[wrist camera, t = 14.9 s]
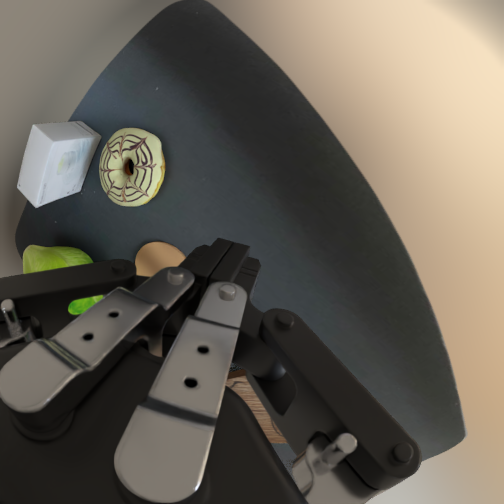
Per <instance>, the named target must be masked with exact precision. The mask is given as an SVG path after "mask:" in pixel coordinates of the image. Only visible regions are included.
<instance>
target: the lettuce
mask: <svg viewBox="0 0 504 504" xmlns="http://www.w3.org/2000/svg"><path fill="white" fill-rule="evenodd" d="M88 263H94V262H93V261H92V260H91V258H90V257H89V256H88V255H87V254H86V253H84V252H83V251H81V250H80V249H77V248H72V247H41V246H36V245H30V246H28V247H27V248H26V249H25V251H24V254H23V272H24V274H26V273H32V272H38V271H44V270H50V269H57V268H63V267H69V266H75V265H81V264H88ZM102 298H103V295H100V296H95V297H90V298H84V299H79V300H75V301H73V302H71V303H70V305H69V307H68V311H69V313H71V314H73V315H77V314H82V313H84V312H85V311H86V310H87V309H89V308H90V307H91V306H93V305H94V304H95V303H97V302H98V301H99V300H101V299H102Z"/></svg>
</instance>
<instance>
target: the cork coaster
mask: <svg viewBox="0 0 504 504" xmlns="http://www.w3.org/2000/svg"><path fill="white" fill-rule="evenodd" d="M185 258H186V257H185V256H184V254H183V253H182V252H181V251H180V250H178V249H177V248H176V247H174V246H173V245H171V244H168V243H165V242H161V241H155V242H150V243H148V244H146V245H144V246H143V247H142V248H141V249H140V250H139V252H138V254H137V256H136V260H135V265H136V268H137V275H141V276H149V277H151V276H153V275H154V274H155V273H156V272H158V271H159V270H160V269H162V268H165V267H171V266H176V267H177V266H178V265H179V264H180V263H181V262H182V261H183V260H184V259H185Z"/></svg>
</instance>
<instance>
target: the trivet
mask: <svg viewBox="0 0 504 504" xmlns="http://www.w3.org/2000/svg"><path fill="white" fill-rule="evenodd" d="M245 373H246V370H244V369H241V370H237V371H233V372H230V373H228V378H227V382H226V386H228V387H229V388H231V389H232V390H234V391H235V392H236V393H237V394H238V395H239V396H240V397H241V398H242V399H243V400H244V401H245V402H246V403H247V405H248V406H249V407H250V409H251V410H252V412H253V414H254V415H255V417H256V419H257V421H258V423H259V424H260V426H261V428H262V430H263V431H264V433H265V435H266V436H267V438H268V440H269V442H270V443H287V441H286V440H285V438H284V437H283V435H282V434H281V432H280V431H279V429H278V428H277V426H276V425H275V423H274V422H273V420H272V419H271V417H270V416H269V414H268V413H267V411H266V409H265V408H264V406H263V405H262V403H261V402H260V400H259V398H258V397H257V395H256V394H255V392H254V390H253V389H252V387H251V386H250V384H249V382H248V381H247V379H246V375H245Z"/></svg>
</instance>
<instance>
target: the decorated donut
mask: <svg viewBox="0 0 504 504" xmlns="http://www.w3.org/2000/svg"><path fill="white" fill-rule="evenodd" d="M130 159H132V161H133V162H134V174H131V173H130V171H129V162H130ZM99 172H100V179H101V184H102V187H103V189H104V191H105V192H106V193H107V195H108V196H109V198H110V199H111V200H113V202H115V203H117V204H119V205H121V206H139V205H143V204H145V203H147V202H148V201H149V200H150V199H152V198H153V197H154V196H155V195H156V194H157V192H158V190H159V188H160V186H161V184H162V182H163V179H164V173H165V160H164V156H163V152H162V149H161V142H160V140H159V139H158V138H157V137H156V136H155V135H153V134H151V133H149V132H147V131H145V130H142V129H139V128H124V129H121V130H118V131H117V132H116V133H115V134H113V136H112V137H111V138H110V140H109V141H108V142H107V144H106V145H105V147H104V149H103V151H102V154H101V159H100V165H99Z"/></svg>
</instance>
